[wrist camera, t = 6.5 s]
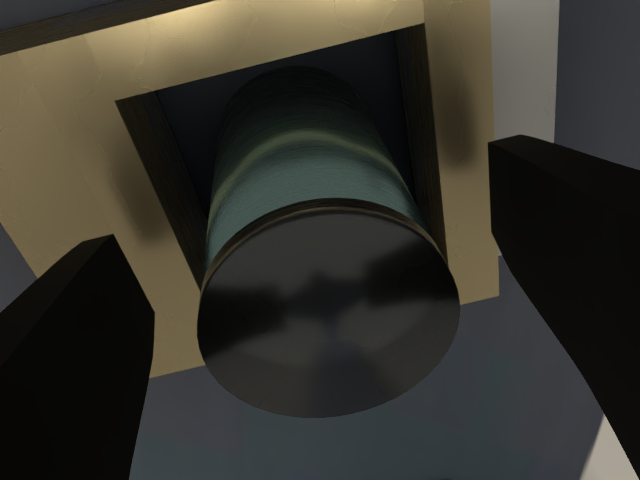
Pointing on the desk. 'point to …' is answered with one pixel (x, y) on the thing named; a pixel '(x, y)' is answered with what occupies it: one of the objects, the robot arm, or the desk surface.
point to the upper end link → (201, 62)
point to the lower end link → (508, 89)
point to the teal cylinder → (316, 256)
